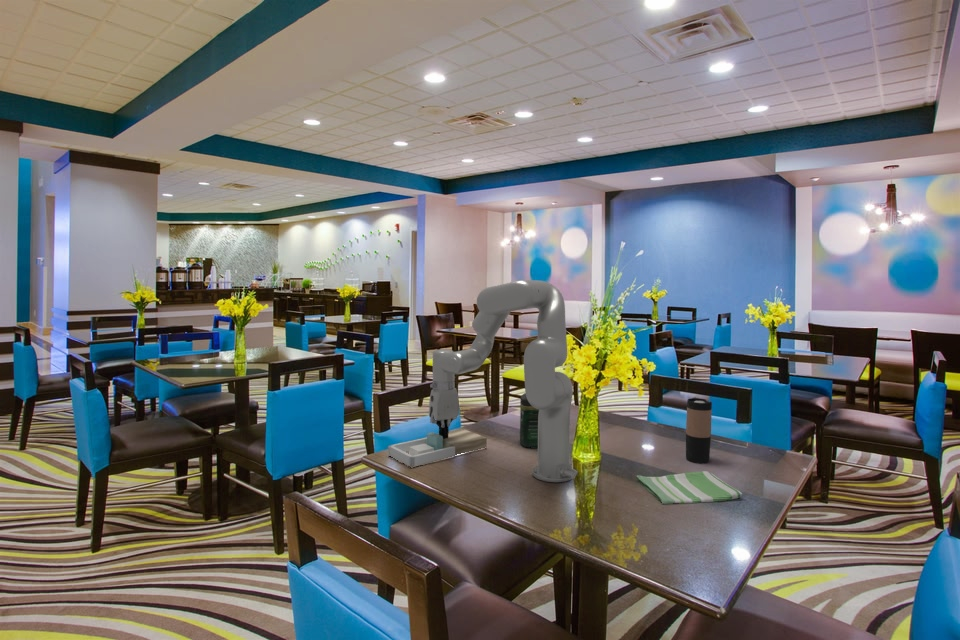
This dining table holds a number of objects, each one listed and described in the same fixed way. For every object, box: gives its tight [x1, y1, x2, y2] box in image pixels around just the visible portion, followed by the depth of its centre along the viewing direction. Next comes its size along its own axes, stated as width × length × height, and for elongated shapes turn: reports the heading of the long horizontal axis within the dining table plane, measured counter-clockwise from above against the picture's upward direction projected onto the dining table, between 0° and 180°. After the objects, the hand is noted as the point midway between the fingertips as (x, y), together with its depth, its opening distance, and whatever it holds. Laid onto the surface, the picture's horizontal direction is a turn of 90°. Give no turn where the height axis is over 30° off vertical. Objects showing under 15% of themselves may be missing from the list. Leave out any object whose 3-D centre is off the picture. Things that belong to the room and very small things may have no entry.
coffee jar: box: [519, 392, 539, 449], centre depth 189 cm, size 10×8×19 cm
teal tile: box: [426, 431, 443, 451], centre depth 179 cm, size 6×6×2 cm
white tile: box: [409, 444, 434, 456], centre depth 176 cm, size 6×6×2 cm
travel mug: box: [685, 397, 713, 465], centre depth 173 cm, size 8×8×20 cm
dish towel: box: [636, 470, 743, 505], centre depth 148 cm, size 18×23×3 cm
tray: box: [387, 436, 455, 467], centre depth 175 cm, size 15×17×4 cm
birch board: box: [443, 428, 488, 455], centre depth 185 cm, size 14×14×4 cm
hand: (443, 437), depth 181 cm, fingers closed
